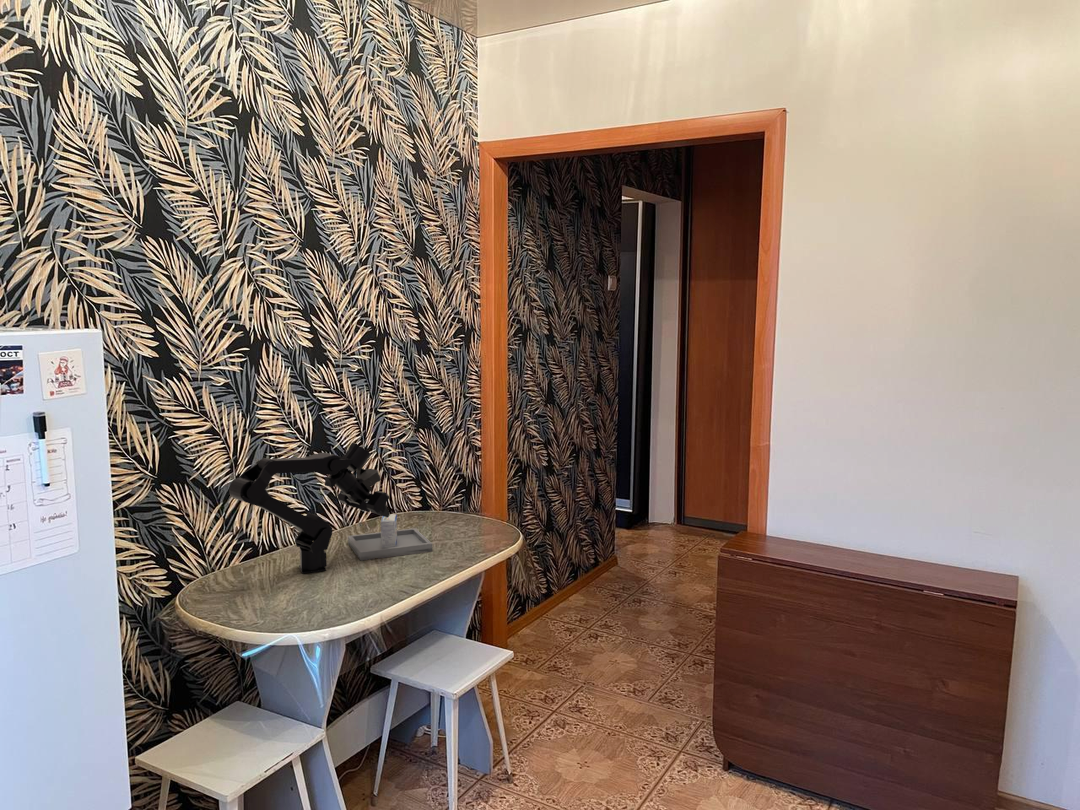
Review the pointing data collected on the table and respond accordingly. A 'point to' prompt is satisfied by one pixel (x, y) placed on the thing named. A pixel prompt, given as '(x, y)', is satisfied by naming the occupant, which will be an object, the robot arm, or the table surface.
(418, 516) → the table surface
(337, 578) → the table surface
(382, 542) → the medicine box
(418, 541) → the tray
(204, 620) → the table surface
